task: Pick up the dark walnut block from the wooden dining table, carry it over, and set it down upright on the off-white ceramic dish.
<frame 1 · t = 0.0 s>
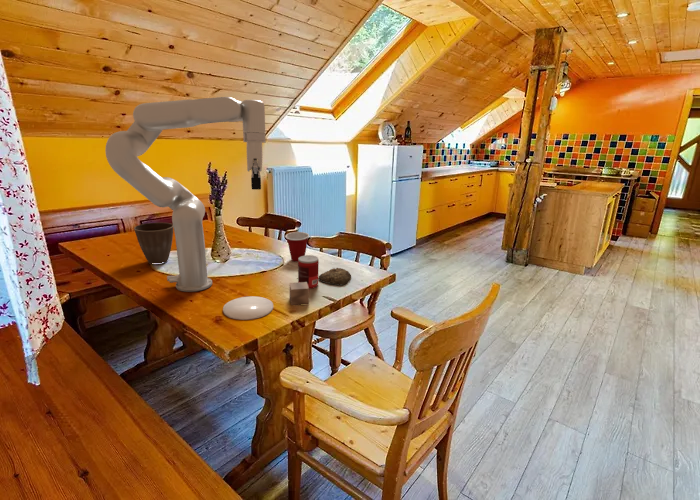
hand: (256, 187, 138), 37 cm above the table, tool pointing down, fingers open, 9 cm apart
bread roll: (336, 280, 154), on the table
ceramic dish: (248, 308, 126), on the table
canned food: (308, 285, 147), on the table
walnut block: (299, 301, 133), on the table
plastic cup: (297, 260, 175), on the table
plant pot: (158, 262, 166), on the table
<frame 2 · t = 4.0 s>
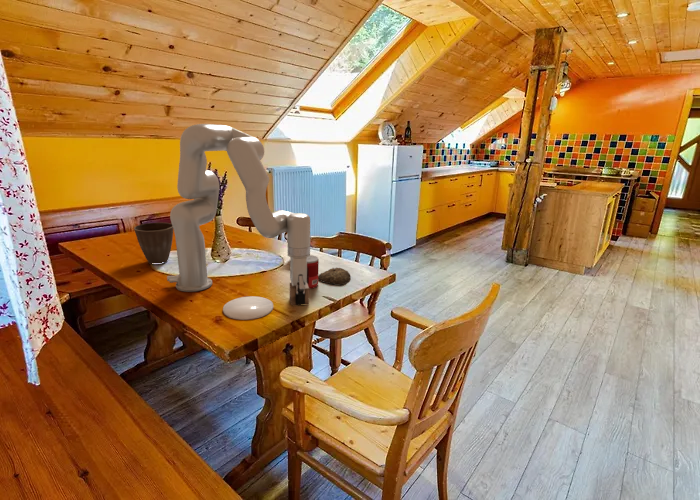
hand: (299, 299, 133), 1 cm above the table, tool pointing down, fingers closed on walnut block, 6 cm apart
walnut block: (299, 301, 133), on the table, touching gripper
everything else where it was.
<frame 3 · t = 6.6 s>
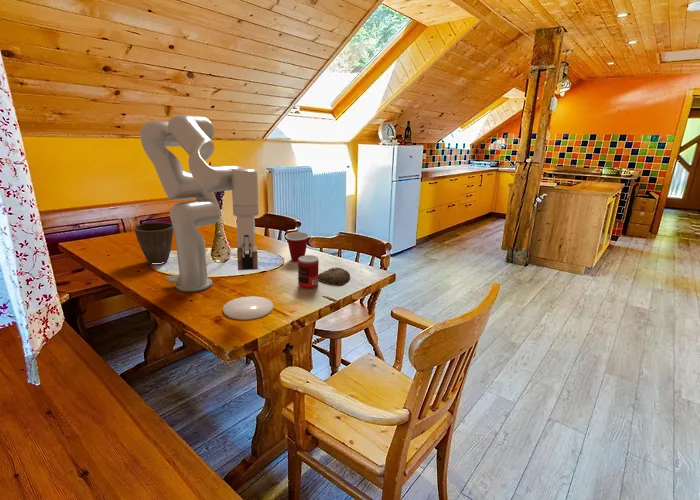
hand: (247, 264, 122), 15 cm above the table, tool pointing down, fingers closed on walnut block, 6 cm apart
walnut block: (248, 266, 122), point 15 cm above the table, touching gripper
everything else where it was.
when the fingers open (3 cm above the table, at t = 9.6 s): walnut block drops 1 cm, resting on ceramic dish.
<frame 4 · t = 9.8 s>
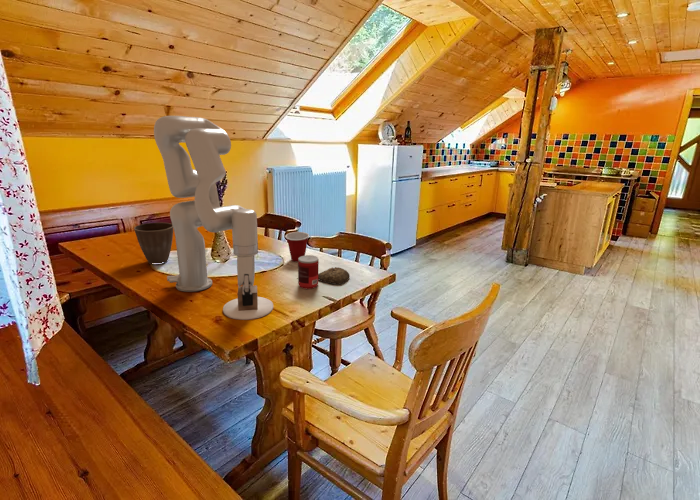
hand: (248, 299, 125), 3 cm above the table, tool pointing down, fingers open, 8 cm apart
walnut block: (248, 306, 126), point 1 cm above the table, touching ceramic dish
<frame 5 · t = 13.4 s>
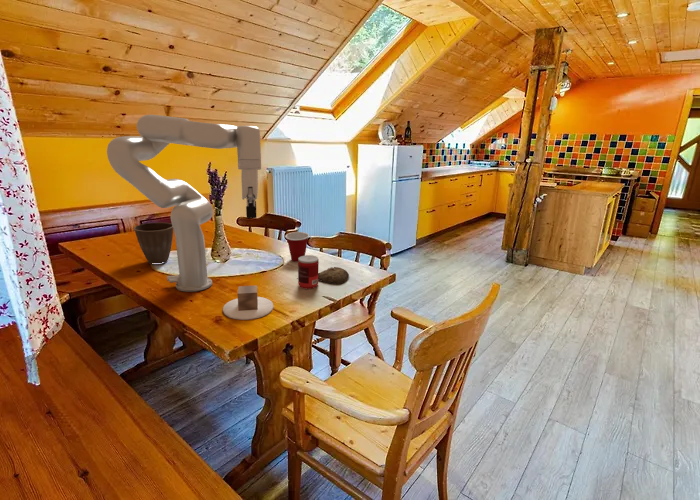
hand: (251, 215, 132), 28 cm above the table, tool pointing down, fingers open, 9 cm apart
at the end: walnut block inside the target area on the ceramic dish (0.1 cm from its centre), point 0.8 cm above the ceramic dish's base; walnut block tilted 0°; the gripper is holding nothing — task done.
